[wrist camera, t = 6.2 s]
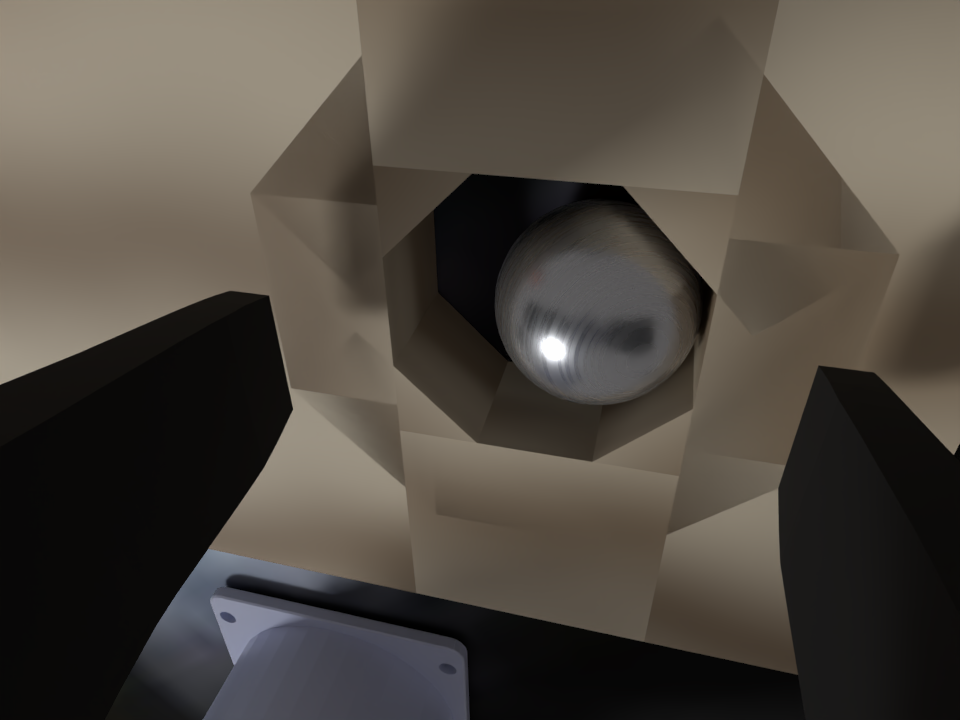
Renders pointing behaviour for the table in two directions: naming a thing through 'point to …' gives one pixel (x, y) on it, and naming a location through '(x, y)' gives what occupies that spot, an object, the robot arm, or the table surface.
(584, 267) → the steel ball
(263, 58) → the maple board
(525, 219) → the table surface
